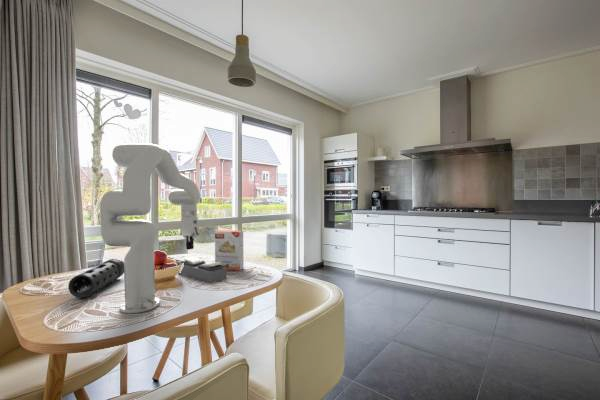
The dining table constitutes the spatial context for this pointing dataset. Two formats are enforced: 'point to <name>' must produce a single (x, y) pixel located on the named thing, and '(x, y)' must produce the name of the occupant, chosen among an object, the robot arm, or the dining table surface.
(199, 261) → the far rocker
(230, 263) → the cracker box
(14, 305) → the dining table surface
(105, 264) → the muzzle brake
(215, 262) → the near rocker
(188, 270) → the switch box
